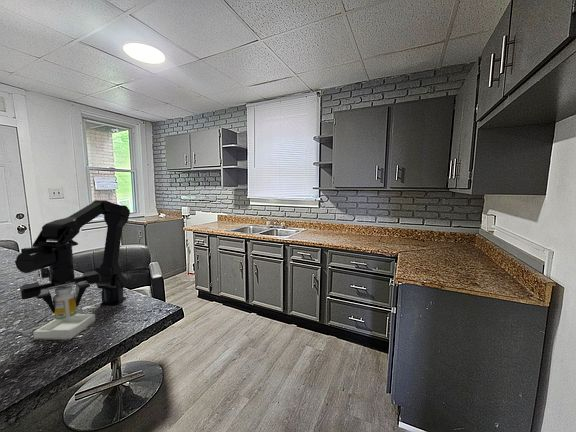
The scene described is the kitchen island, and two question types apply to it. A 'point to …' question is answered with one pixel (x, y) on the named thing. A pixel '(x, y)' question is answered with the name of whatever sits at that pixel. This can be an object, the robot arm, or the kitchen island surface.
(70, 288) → the supplement bottle
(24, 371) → the kitchen island surface
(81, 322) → the tray
